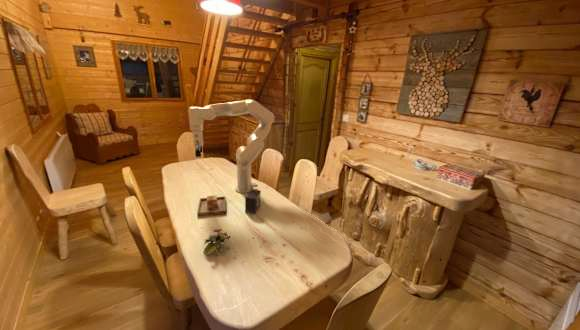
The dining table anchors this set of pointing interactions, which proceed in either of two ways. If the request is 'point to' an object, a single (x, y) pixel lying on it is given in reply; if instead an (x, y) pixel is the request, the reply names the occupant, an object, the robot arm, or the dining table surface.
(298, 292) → the dining table surface
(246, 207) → the small box
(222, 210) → the walnut tray
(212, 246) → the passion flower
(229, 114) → the robot arm
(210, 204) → the walnut cube
